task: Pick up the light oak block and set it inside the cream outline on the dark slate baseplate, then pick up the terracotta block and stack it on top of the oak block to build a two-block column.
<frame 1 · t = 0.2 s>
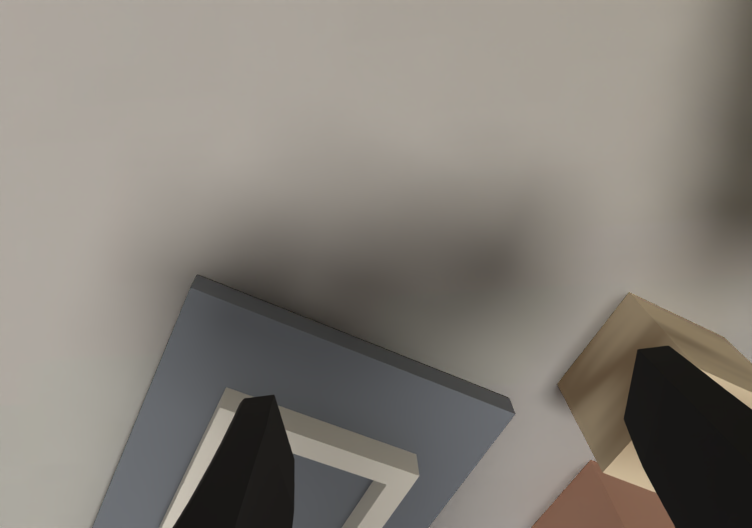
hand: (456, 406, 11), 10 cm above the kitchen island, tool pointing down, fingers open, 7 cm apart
oak block: (638, 359, 24), on the kitchen island
terracotta block: (600, 508, 28), on the kitchen island
slate baseplate: (287, 472, 26), on the kitchen island
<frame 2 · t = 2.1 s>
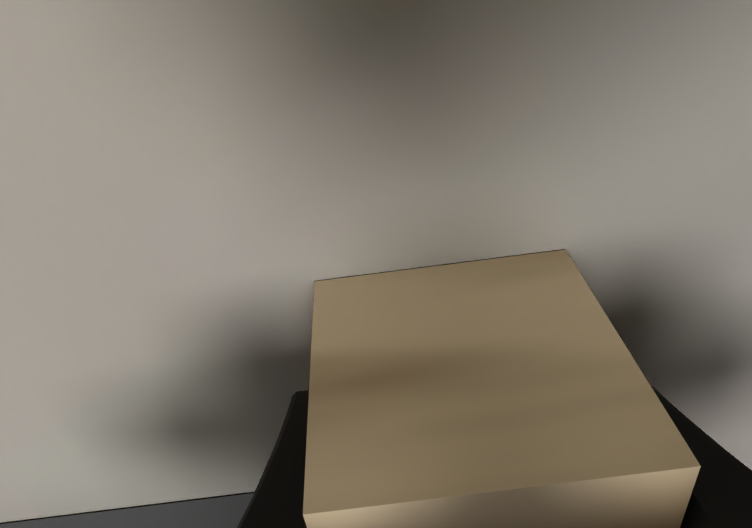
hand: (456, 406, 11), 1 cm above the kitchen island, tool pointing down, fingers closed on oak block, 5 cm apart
oak block: (445, 357, 13), on the kitchen island, touching gripper
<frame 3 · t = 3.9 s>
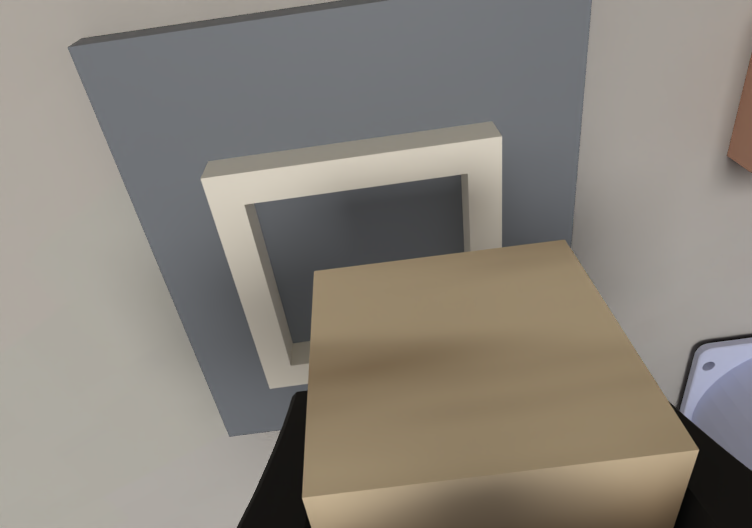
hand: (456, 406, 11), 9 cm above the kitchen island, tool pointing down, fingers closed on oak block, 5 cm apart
oak block: (444, 348, 13), point 8 cm above the kitchen island, touching gripper
slate baseplate: (366, 243, 20), on the kitchen island
when the fingers open (3 cm above the kitchen island, at t = 5.8 s): oak block stays where it is, resting on slate baseplate.
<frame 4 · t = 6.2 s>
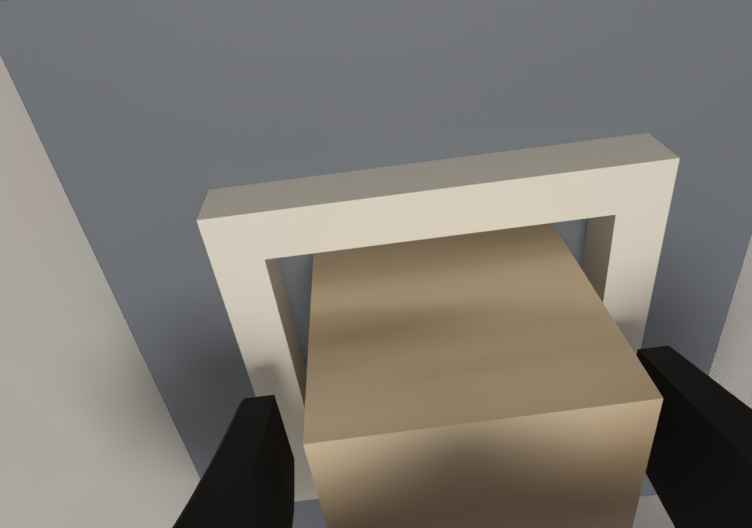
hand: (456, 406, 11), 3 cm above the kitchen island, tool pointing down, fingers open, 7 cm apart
oak block: (437, 324, 13), point 1 cm above the kitchen island, touching slate baseplate
slate baseplate: (432, 302, 14), on the kitchen island
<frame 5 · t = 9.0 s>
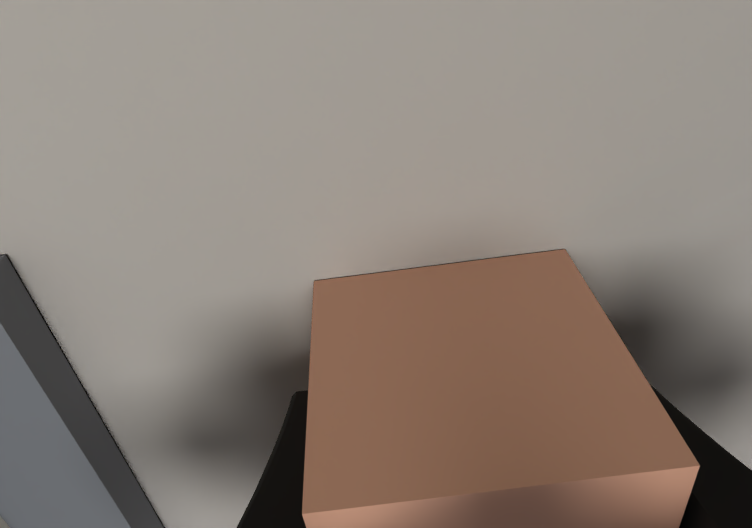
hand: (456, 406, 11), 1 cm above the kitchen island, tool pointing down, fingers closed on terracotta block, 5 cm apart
terracotta block: (444, 356, 13), on the kitchen island, touching gripper
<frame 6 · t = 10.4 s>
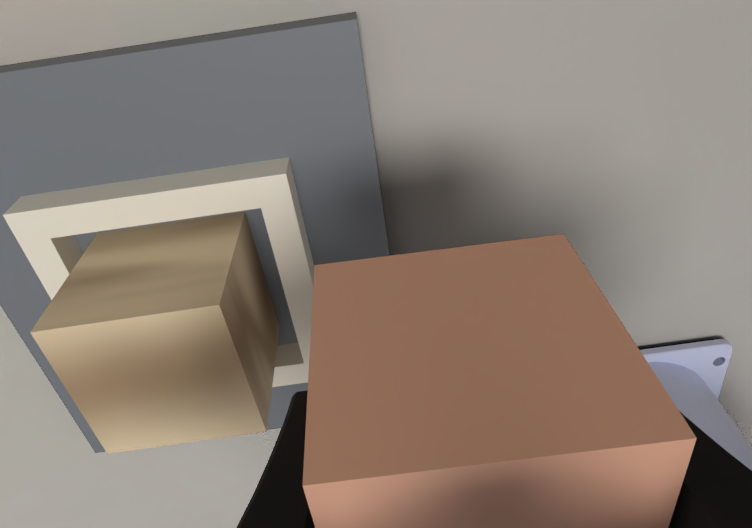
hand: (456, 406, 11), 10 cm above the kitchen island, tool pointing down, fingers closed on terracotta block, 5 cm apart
oak block: (194, 282, 20), point 1 cm above the kitchen island, touching slate baseplate
terracotta block: (444, 342, 13), point 8 cm above the kitchen island, touching gripper
slate baseplate: (201, 269, 21), on the kitchen island
when the fingers open (8 cm above the kitchen island, at t = 11.8 s): terracotta block stays where it is, resting on oak block.
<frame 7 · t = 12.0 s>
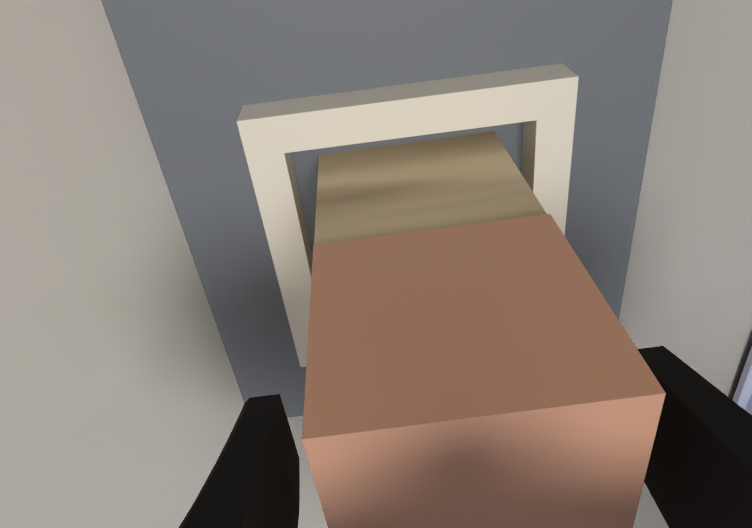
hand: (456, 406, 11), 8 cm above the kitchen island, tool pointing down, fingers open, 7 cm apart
oak block: (413, 218, 17), point 1 cm above the kitchen island, touching slate baseplate, terracotta block
terracotta block: (437, 320, 13), point 6 cm above the kitchen island, touching oak block
slate baseplate: (410, 207, 18), on the kitchen island
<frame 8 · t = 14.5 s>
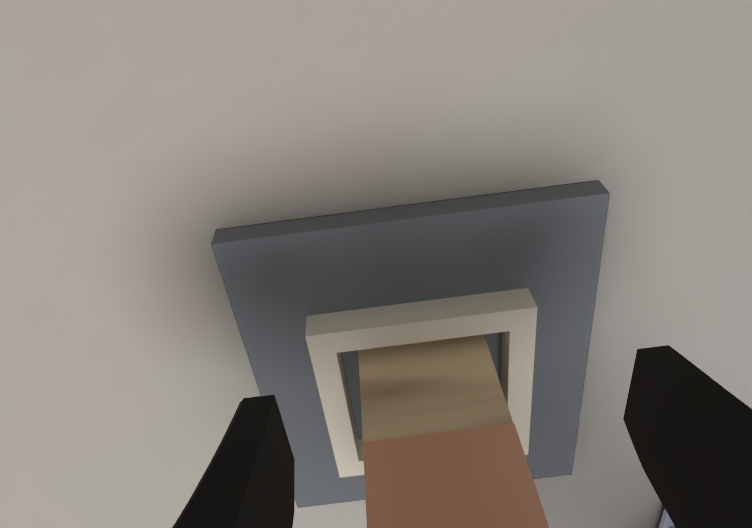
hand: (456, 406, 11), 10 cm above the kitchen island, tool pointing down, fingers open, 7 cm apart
oak block: (423, 377, 24), point 1 cm above the kitchen island, touching slate baseplate, terracotta block
terracotta block: (442, 478, 20), point 6 cm above the kitchen island, touching oak block
slate baseplate: (421, 363, 25), on the kitchen island
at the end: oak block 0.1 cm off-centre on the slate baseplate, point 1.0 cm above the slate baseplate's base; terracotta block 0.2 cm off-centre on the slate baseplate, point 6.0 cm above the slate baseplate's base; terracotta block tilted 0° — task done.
